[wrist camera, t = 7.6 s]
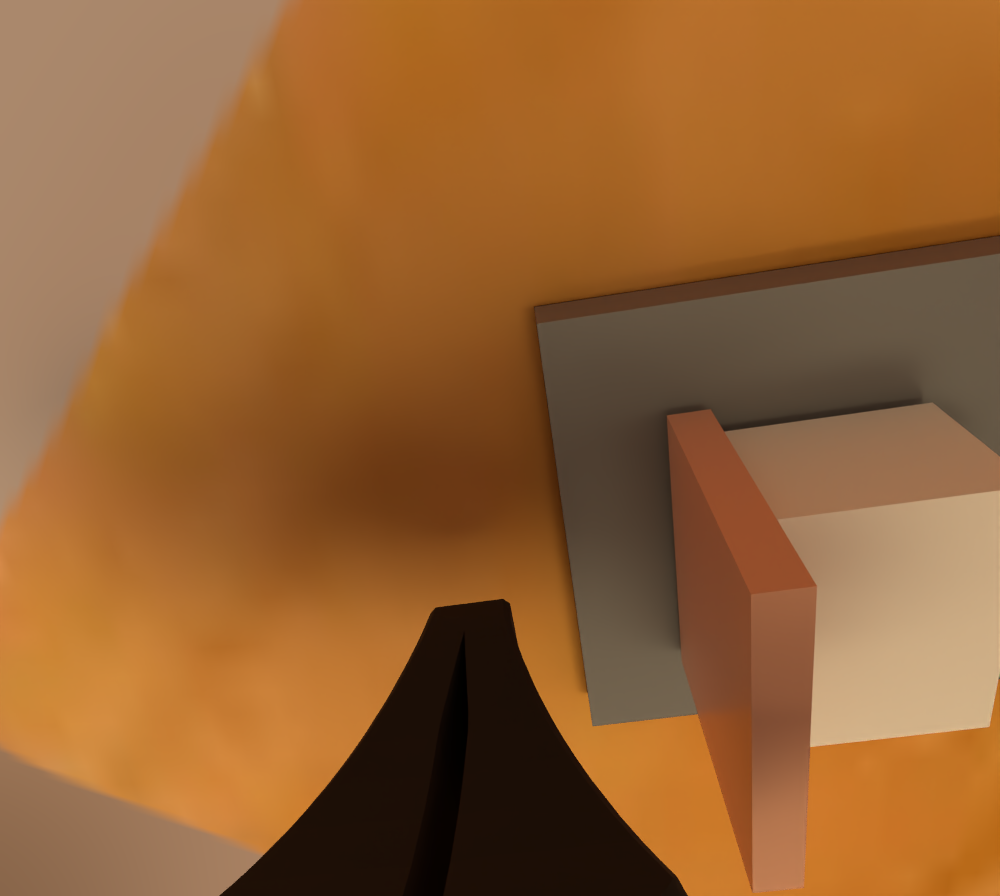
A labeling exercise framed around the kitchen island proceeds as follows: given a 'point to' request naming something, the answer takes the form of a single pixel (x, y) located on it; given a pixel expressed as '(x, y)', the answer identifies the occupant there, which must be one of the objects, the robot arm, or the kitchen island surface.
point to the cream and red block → (830, 599)
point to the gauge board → (736, 414)
